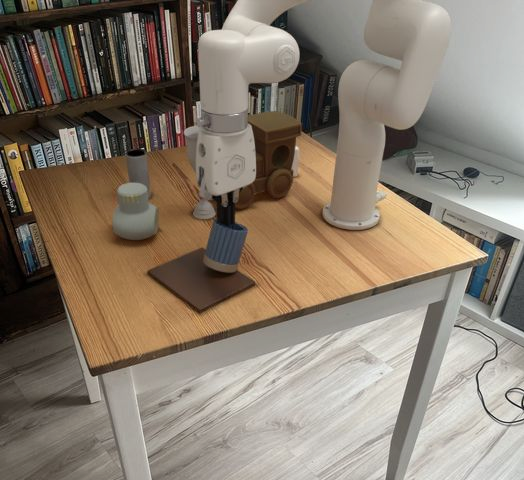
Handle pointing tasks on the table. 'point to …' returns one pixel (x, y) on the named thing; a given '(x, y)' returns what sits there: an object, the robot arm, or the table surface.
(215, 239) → the tea cup
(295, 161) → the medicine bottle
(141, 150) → the grey pipe
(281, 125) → the wooden toy train
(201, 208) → the chalice
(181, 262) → the walnut board
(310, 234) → the table surface
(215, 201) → the robot arm
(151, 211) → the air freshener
